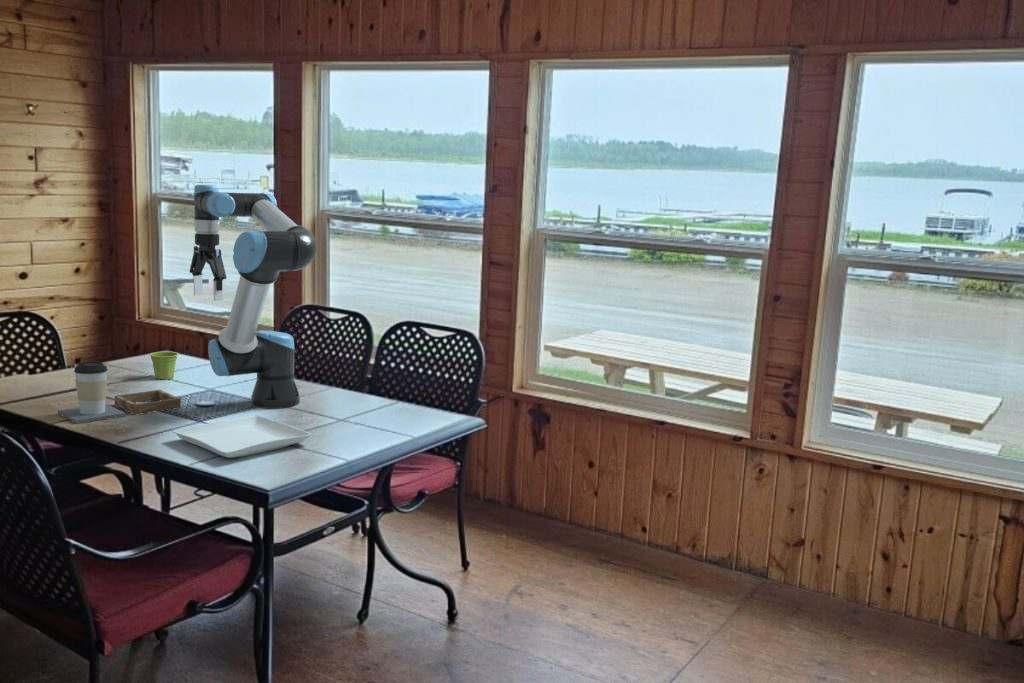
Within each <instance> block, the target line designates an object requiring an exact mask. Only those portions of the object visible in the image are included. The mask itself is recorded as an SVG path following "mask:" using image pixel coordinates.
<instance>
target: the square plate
mask: <svg viewBox="0 0 1024 683" xmlns="http://www.w3.org/2000/svg"><path fill="white" fill-rule="evenodd" d="M172 433H173V434H175V435H176V436H177V437H178V438H179V439H182V440H183V441H185V442H187V443H190V444H192V445H195V446H198V447H201V448H203V449H206V450H208V451H211V452H213V453H215V454H217V455H219V456H221V457H225V458H227V459H228V458H229V459H232V458H233V459H234V458H242V457H247V456H252V455H256V454H260V453H265V452H268V451H269V452H270V451H273V450H277V449H282V448H286V447H289V446H291V445H296V444H299V443H302V442H304V441H306V440H308V439H309V438H310V437H311V436H312V433H311V432H309V431H305V430H303V429H300V428H298V427H295V426H293V425H290V424H289V425H288V424H286V423H284V422H280V421H277V420H275V419H274V420H273V419H272V418H271V419H270V418H267V417H264V416H261V415H252V416H245V417H239V418H234V419H233V418H232V419H227V420H219V421H215V422H209V423H204V424H198V425H195V426H191V427H185V428H180V429H176V430H173V431H172Z"/></svg>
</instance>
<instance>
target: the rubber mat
mask: <svg viewBox="0 0 1024 683" xmlns="http://www.w3.org/2000/svg"><path fill="white" fill-rule="evenodd" d="M58 413H59V414H58ZM57 414H58V415H60V414H61V415H63V416H64V417H63V416H62V417H63V418H65V417H66V418H65V419H67V418H68V419H69V420H68V419H67V420H68V421H70V420H71V422H72V421H73V422H72V423H73V424H75V423H79V424H83V422H86V423H89V422H88V421H92V422H97V421H96V420H99V421H103V420H102V419H105V420H109V419H108V418H112V419H115V417H118V418H122V417H121V416H125V417H126V413H125V412H123V411H121V410H119V409H117V408H115V407H114V406H112V405H109V404H108V403H105V412H103V413H100V414H93V415H86V414H81V413H80V408H79V407H73V408H65V409H58V410H57ZM61 415H60V416H61Z"/></svg>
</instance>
